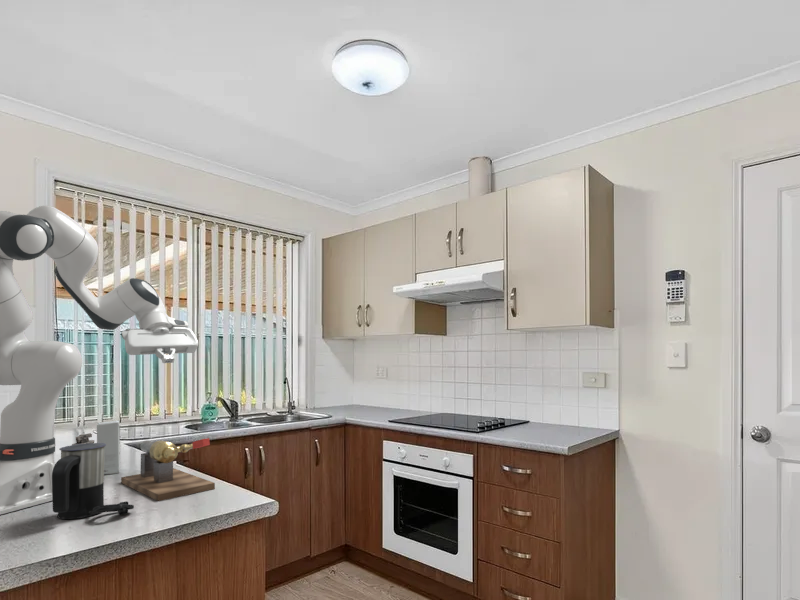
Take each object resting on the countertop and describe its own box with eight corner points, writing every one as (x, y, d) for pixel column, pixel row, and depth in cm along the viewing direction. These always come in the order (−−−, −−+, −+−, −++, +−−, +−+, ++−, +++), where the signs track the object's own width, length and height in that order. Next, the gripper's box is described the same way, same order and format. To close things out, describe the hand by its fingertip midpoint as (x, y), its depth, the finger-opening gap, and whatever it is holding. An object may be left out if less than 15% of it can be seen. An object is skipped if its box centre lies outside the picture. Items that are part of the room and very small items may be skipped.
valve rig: (121, 482, 146) (121, 439, 147) (172, 473, 156) (173, 432, 157) (158, 501, 127) (158, 451, 128) (214, 488, 137) (214, 442, 138)
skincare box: (119, 473, 158) (119, 422, 159) (95, 476, 155) (96, 424, 157) (119, 468, 165) (120, 419, 167) (97, 470, 163) (98, 421, 164)
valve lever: (179, 445, 146) (202, 438, 136) (185, 444, 147) (209, 437, 137) (180, 453, 146) (203, 446, 136) (186, 452, 147) (210, 445, 137)
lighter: (78, 469, 165) (78, 436, 166) (68, 469, 166) (69, 436, 167) (96, 463, 173) (97, 432, 174) (87, 463, 174) (88, 432, 175)
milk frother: (63, 510, 122) (64, 444, 123) (139, 501, 127) (140, 438, 129) (45, 530, 109) (46, 455, 110) (131, 519, 114) (132, 448, 115)
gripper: (122, 321, 155) (133, 355, 147) (192, 321, 169) (205, 352, 161) (117, 337, 158) (128, 371, 150) (186, 336, 172) (199, 367, 164)
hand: (168, 361), depth 156 cm, fingers closed
